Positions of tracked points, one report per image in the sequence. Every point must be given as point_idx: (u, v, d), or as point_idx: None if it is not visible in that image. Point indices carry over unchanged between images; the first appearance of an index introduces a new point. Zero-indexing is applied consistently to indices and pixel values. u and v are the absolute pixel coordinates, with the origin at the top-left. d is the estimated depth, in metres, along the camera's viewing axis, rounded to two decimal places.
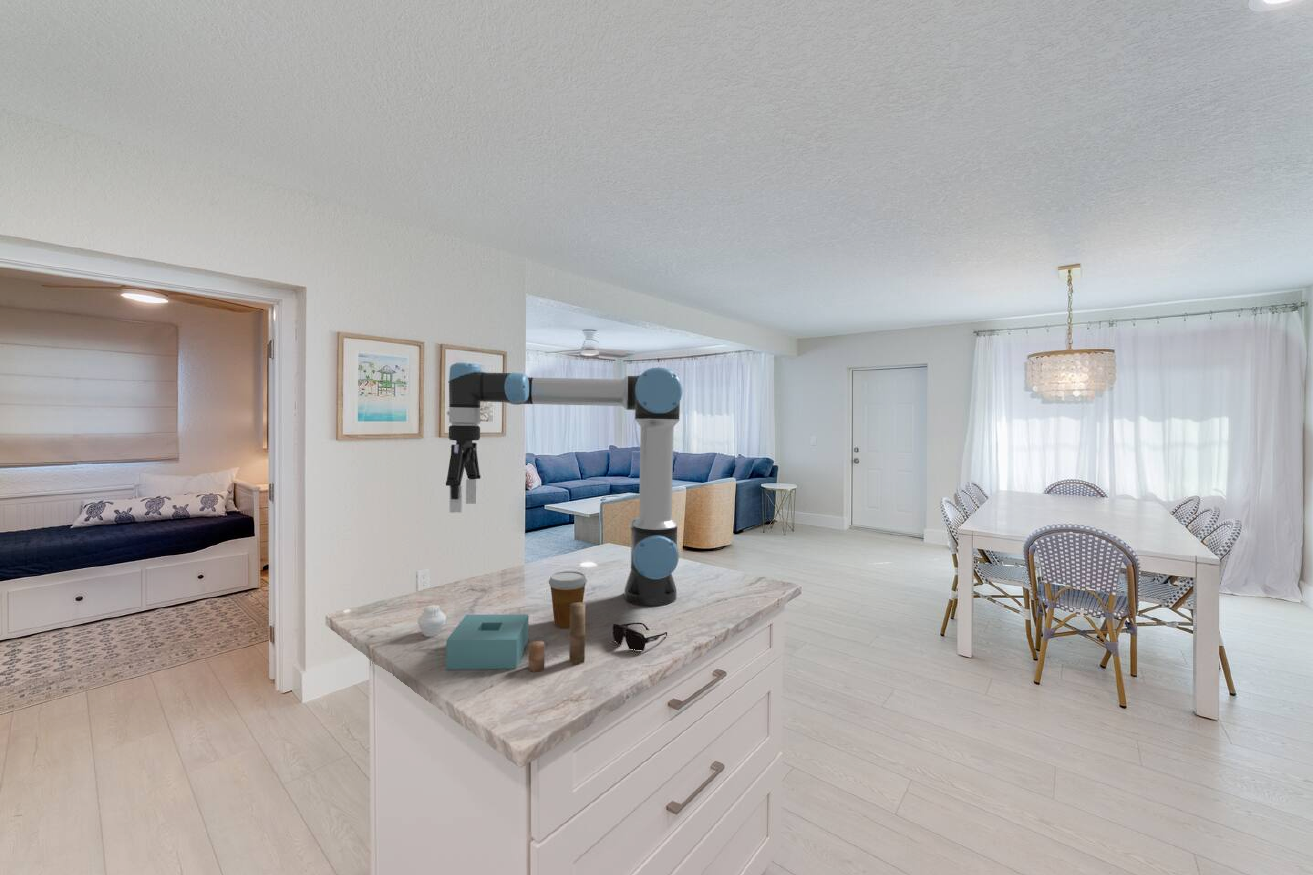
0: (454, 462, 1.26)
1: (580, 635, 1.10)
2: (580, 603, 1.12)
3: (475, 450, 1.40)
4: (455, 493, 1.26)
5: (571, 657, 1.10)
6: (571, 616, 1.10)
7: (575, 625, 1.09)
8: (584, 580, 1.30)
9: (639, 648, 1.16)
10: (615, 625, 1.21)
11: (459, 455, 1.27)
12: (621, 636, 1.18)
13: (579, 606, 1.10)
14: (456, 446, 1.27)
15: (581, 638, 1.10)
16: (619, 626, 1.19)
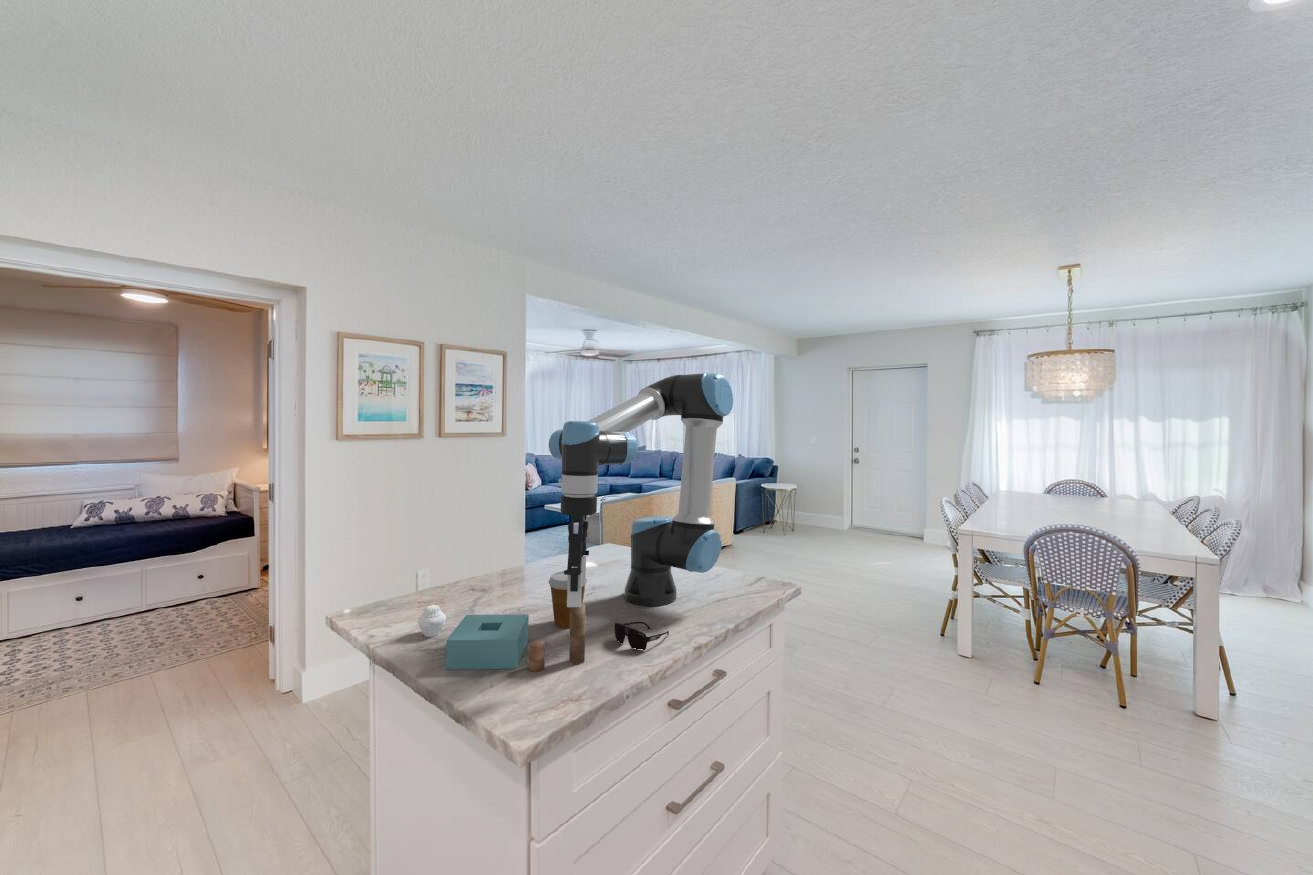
0: (575, 546, 1.02)
1: (580, 635, 1.10)
2: None
3: None
4: (575, 584, 1.02)
5: (571, 657, 1.10)
6: (571, 616, 1.10)
7: (575, 625, 1.09)
8: None
9: (641, 647, 1.16)
10: (617, 624, 1.21)
11: (580, 537, 1.03)
12: (623, 635, 1.19)
13: None
14: (576, 525, 1.03)
15: (581, 638, 1.10)
16: (621, 625, 1.19)
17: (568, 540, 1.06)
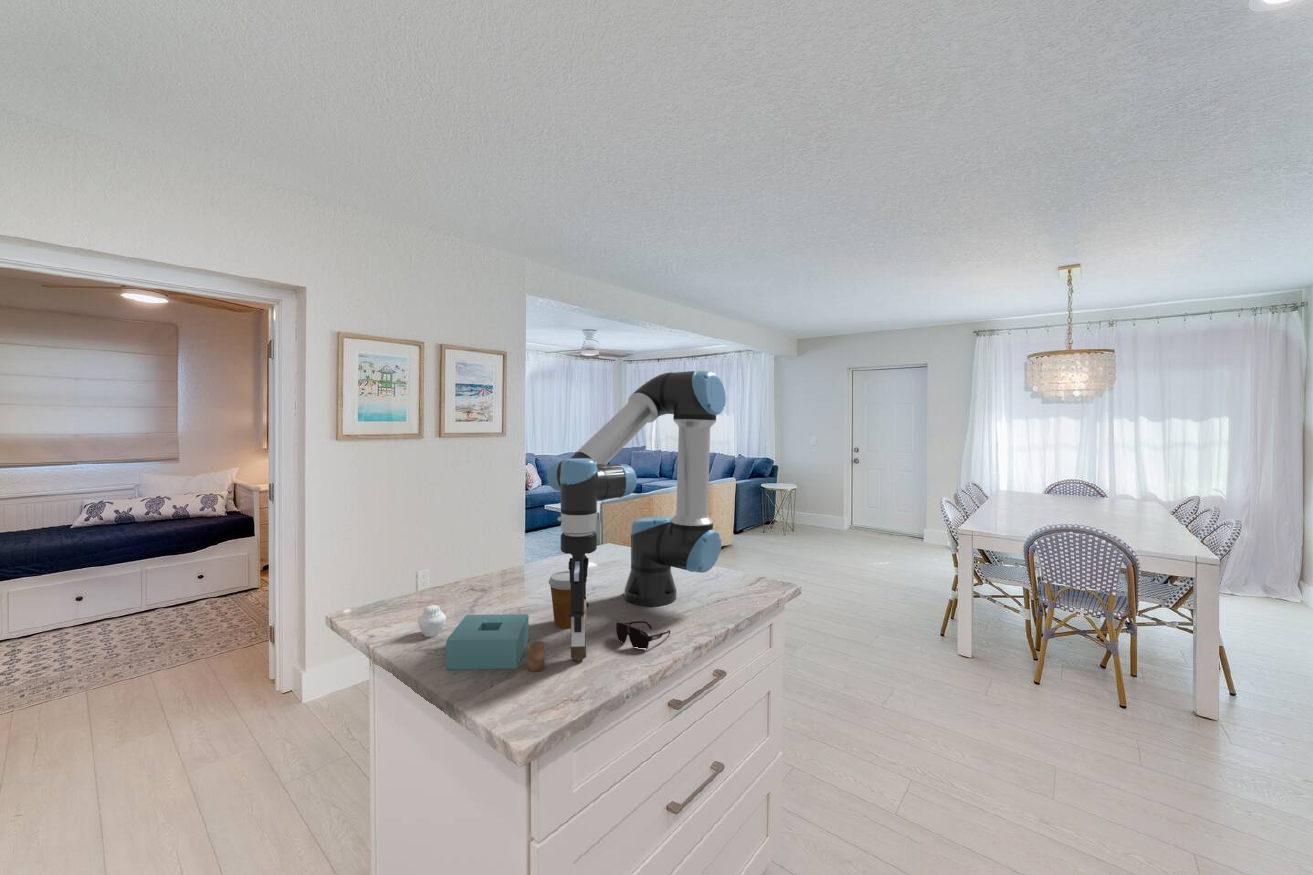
0: (577, 593, 1.05)
1: None
2: None
3: None
4: (579, 625, 1.08)
5: (573, 653, 1.10)
6: None
7: None
8: None
9: (643, 646, 1.17)
10: (619, 624, 1.21)
11: (581, 584, 1.05)
12: (625, 634, 1.19)
13: None
14: (576, 575, 1.04)
15: None
16: (623, 624, 1.20)
17: None
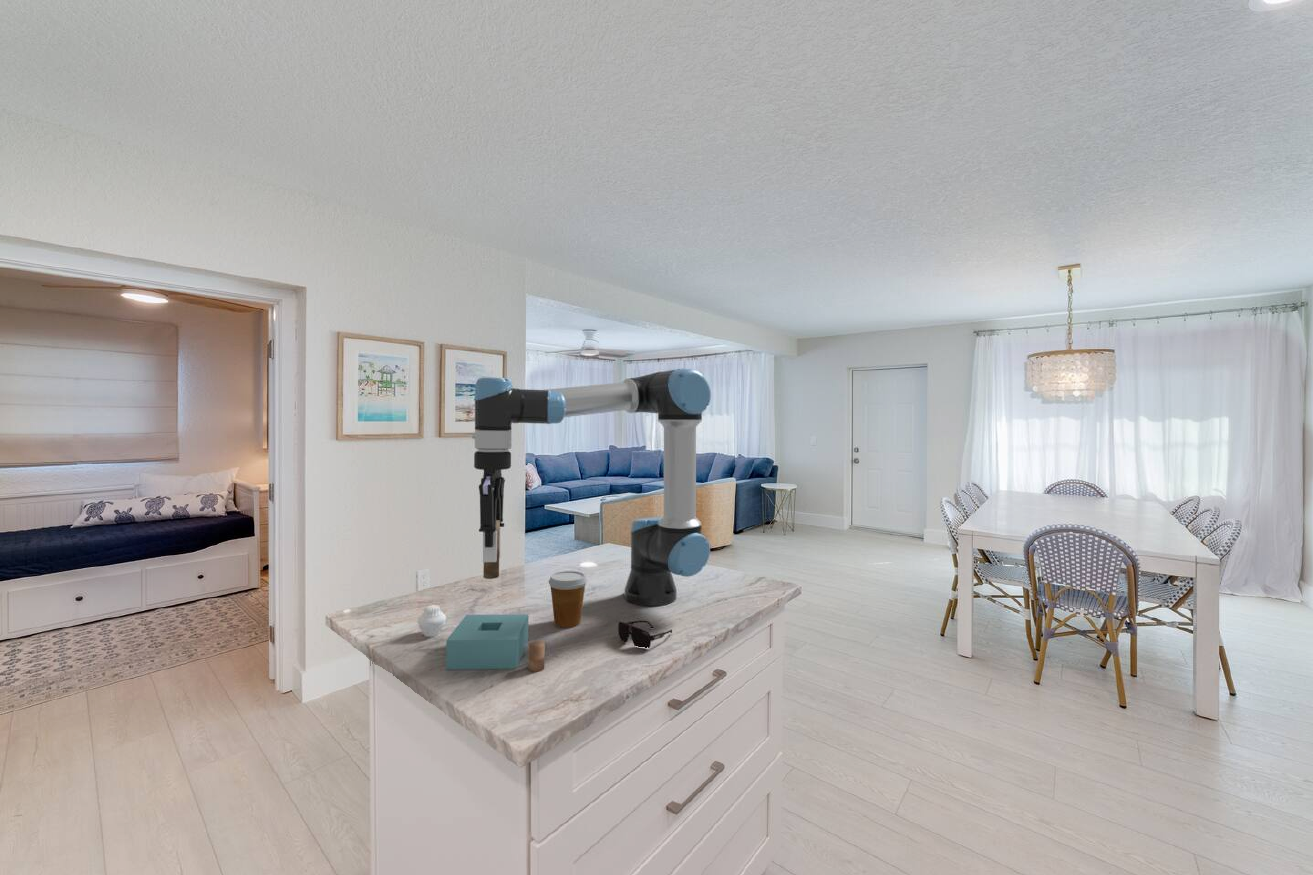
0: (486, 506, 1.07)
1: None
2: None
3: (502, 486, 1.17)
4: (490, 540, 1.10)
5: (484, 572, 1.12)
6: None
7: None
8: (584, 580, 1.30)
9: (645, 646, 1.17)
10: (621, 623, 1.22)
11: (490, 497, 1.07)
12: (627, 634, 1.20)
13: None
14: (485, 488, 1.06)
15: None
16: (625, 624, 1.20)
17: None
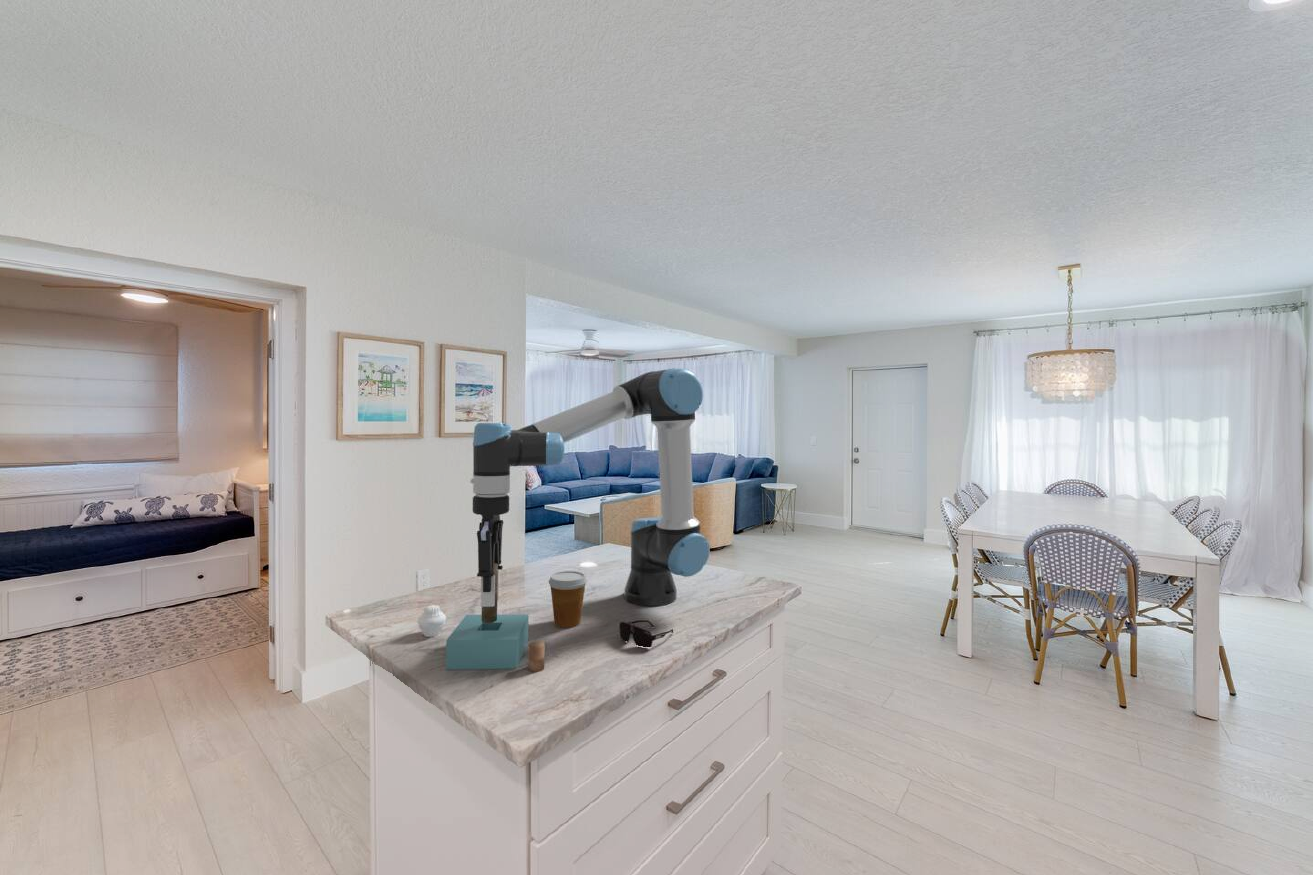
0: (484, 552, 1.07)
1: None
2: None
3: (501, 528, 1.18)
4: (488, 585, 1.10)
5: (483, 616, 1.12)
6: None
7: None
8: (584, 580, 1.30)
9: (646, 645, 1.17)
10: (622, 623, 1.22)
11: (488, 544, 1.07)
12: (628, 634, 1.20)
13: None
14: (483, 534, 1.06)
15: None
16: (626, 624, 1.20)
17: None
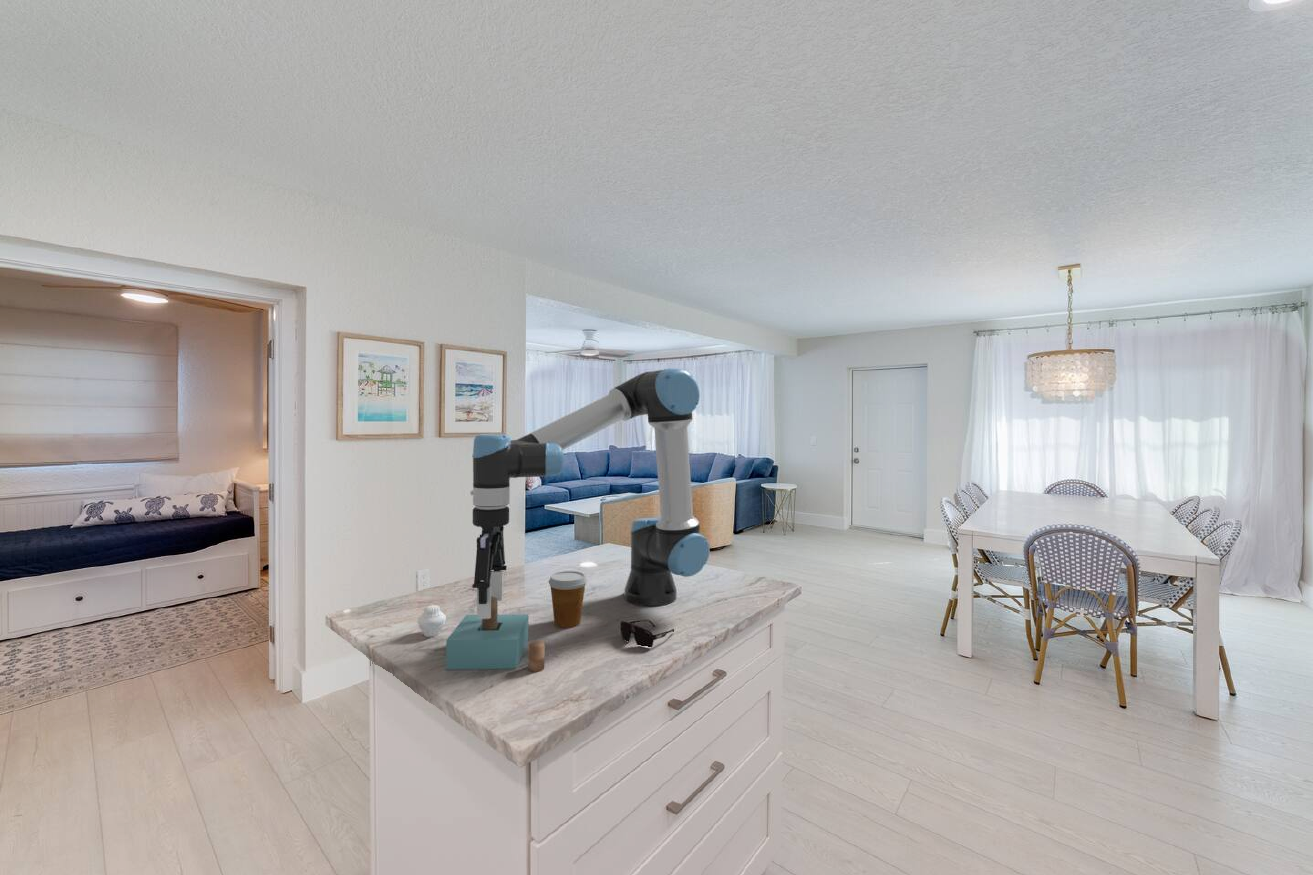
0: (482, 560, 1.06)
1: (491, 628, 1.12)
2: (493, 597, 1.14)
3: (502, 534, 1.19)
4: (483, 597, 1.06)
5: None
6: None
7: (486, 619, 1.11)
8: (584, 580, 1.30)
9: (647, 645, 1.18)
10: (623, 622, 1.22)
11: (487, 551, 1.06)
12: (629, 633, 1.20)
13: None
14: (483, 540, 1.06)
15: None
16: (627, 623, 1.21)
17: None
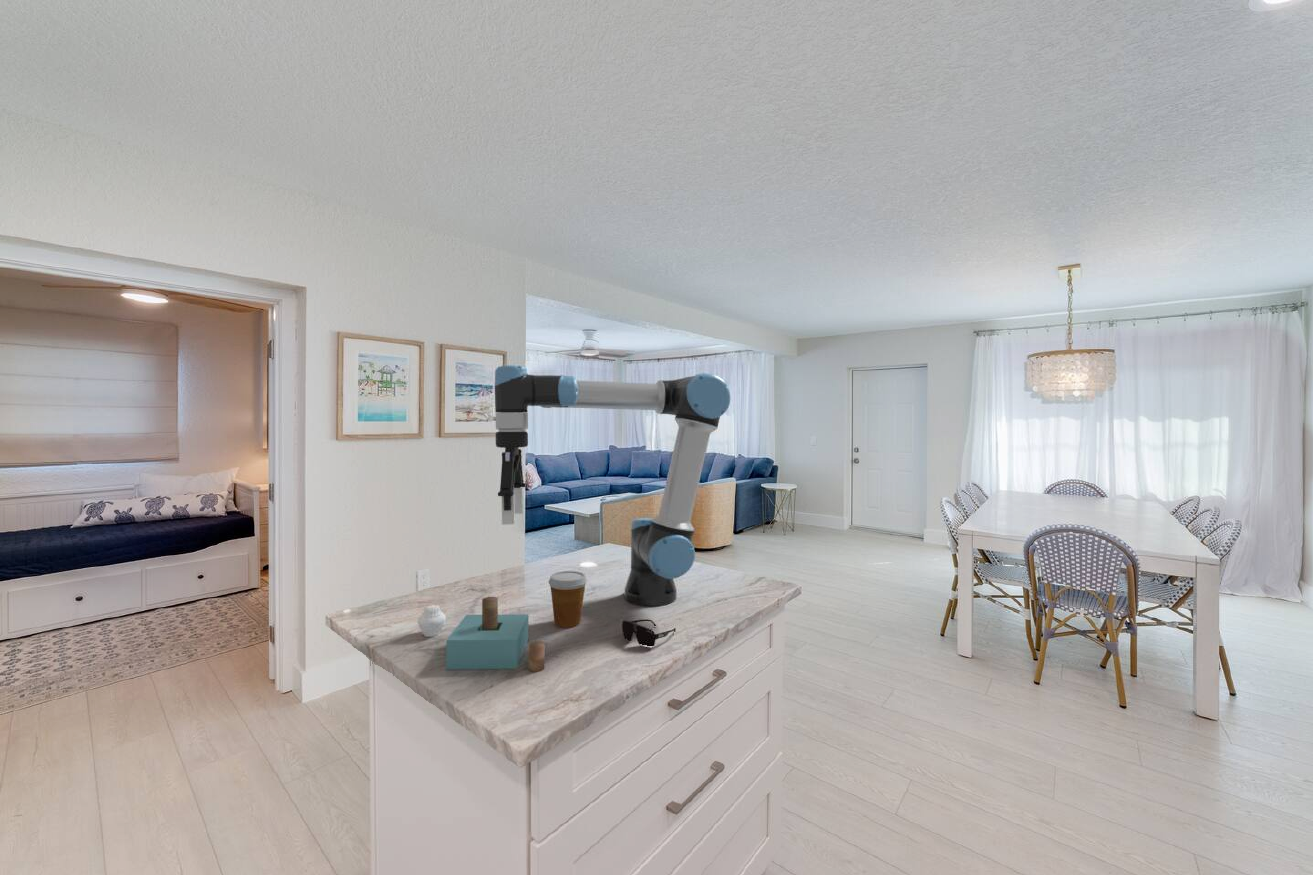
0: (507, 471, 1.19)
1: (492, 628, 1.12)
2: (493, 597, 1.14)
3: None
4: (508, 504, 1.19)
5: None
6: (483, 610, 1.12)
7: (487, 619, 1.12)
8: (584, 580, 1.30)
9: (649, 644, 1.18)
10: (625, 622, 1.22)
11: (511, 463, 1.19)
12: (631, 633, 1.20)
13: (490, 600, 1.12)
14: (507, 454, 1.20)
15: None
16: (629, 623, 1.21)
17: None
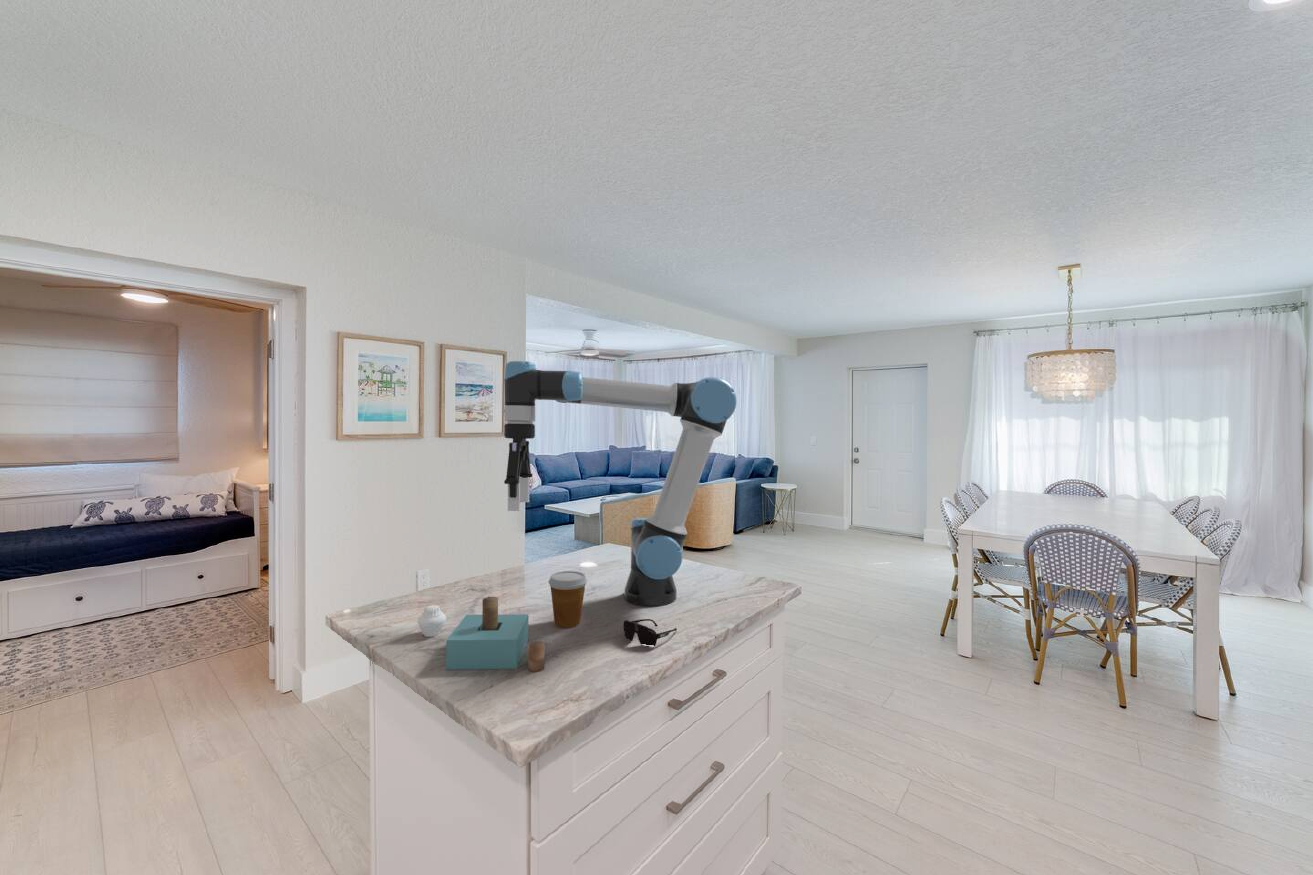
0: (513, 460, 1.26)
1: (492, 628, 1.12)
2: (494, 597, 1.14)
3: None
4: (514, 491, 1.26)
5: None
6: (483, 610, 1.12)
7: (487, 619, 1.12)
8: (584, 580, 1.30)
9: (651, 644, 1.18)
10: (626, 622, 1.23)
11: (517, 453, 1.26)
12: (632, 632, 1.21)
13: (491, 600, 1.12)
14: (514, 444, 1.27)
15: None
16: (630, 622, 1.21)
17: None
